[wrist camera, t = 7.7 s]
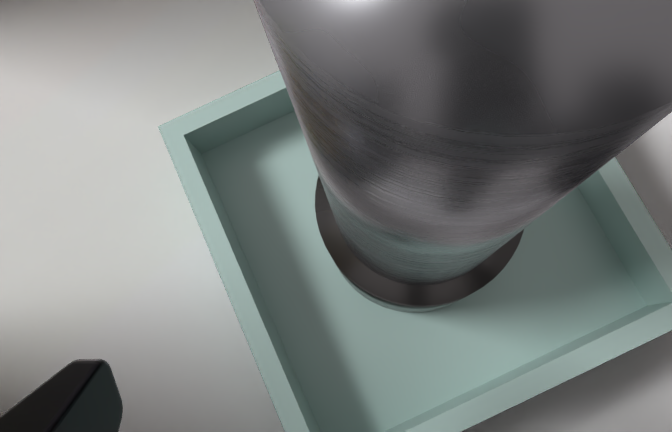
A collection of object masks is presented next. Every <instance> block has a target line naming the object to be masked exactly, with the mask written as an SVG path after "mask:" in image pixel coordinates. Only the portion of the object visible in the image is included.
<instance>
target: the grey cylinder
mask: <svg viewBox="0 0 672 432" xmlns="http://www.w3.org/2000/svg"><path fill="white" fill-rule="evenodd" d="M254 2H255V5H256V8H257V10H258V13H259V16H260V18H261V21H262V24H263V27H264V29H265V32H266V35H267V37H268V40H269V43H270V45H271V48H272V51H273V53H274V56H275V59H276V61H277V64H278V67H279V70H280V72H281V75H282V78H283V80H284V83H285V86H286V88H287V91H288V94H289V96H290V99H291V102H292V105H293V107H294V110H295V113H296V115H297V118H298V121H299V123H300V126H301V129H302V131H303V134H304V137H305V139H306V142H307V145H308V148H309V150H310V153H311V156H312V158H313V161H314V164H315V166H316V169H317V172H318V174H319V176H318V179H317V185H316V191H315V211H316V220H317V224H318V228H319V232H320V235H321V237H322V240H323V242H324V245H325V247H326V248H327V250H328V252H329V254H330V255H331V257H332V259H333V261H334V262H335V264H336V266H337V267H338V269H339V271H340V273H341V274H342V276H343V277H344V278H345V279H346V281H347V282H348V283H349V284H350V285H351V286H352V287H353V288H354V289H355V290H356V291H357V292H358V293H359V294H361V295H362V296H363V297H365V298H366V299H368V300H370V301H371V302H373V303H375V304H377V305H380V306H382V307H384V308H387V309H391V310H395V311H400V312H407V313H421V312H429V311H434V310H438V309H441V308H444V307H446V306H449V305H451V304H454V303H455V302H457V301H459V300H461V299H463V298H465V297H467V296H468V295H470V294H472V293H474V292H476V291H477V290H479V289H481V288H482V287H484V286H485V285H486V284H488V283H489V282H490V281H492V280H493V279H494V278H495V277H496V276H497V275H498V274H499V273H500V272H501V271H502V270H503V269H504V267H505V266H506V265H507V263H508V262H509V261H510V259H511V258H512V256H513V254H514V253H515V251H516V249H517V247H518V245H519V243H520V240H521V237H522V235H523V232H524V228H526V227H527V226H528V225H529V224H531V223H532V222H533V221H534V220H536V219H537V218H538V217H540V216H541V215H542V214H543V213H545V212H546V211H547V210H548V209H550V208H551V207H552V206H553V205H555V204H556V203H557V202H558V201H560V200H561V199H562V198H563V197H565V196H566V195H567V194H569V193H570V192H571V191H572V190H574V189H575V188H576V187H577V186H579V185H580V184H581V183H582V182H584V181H585V180H586V179H587V178H589V177H590V176H591V175H592V174H594V173H595V172H596V171H597V170H599V169H600V168H601V167H603V166H604V165H605V164H606V163H608V162H609V161H610V160H611V159H613V158H614V157H615V156H616V155H618V154H619V153H620V152H621V151H623V150H624V149H625V148H626V147H628V146H629V145H630V144H632V143H633V142H634V141H635V140H637V139H638V138H639V137H640V136H642V135H643V134H644V133H645V132H647V131H648V130H649V129H650V128H652V127H653V126H654V125H655V124H657V123H658V122H659V121H660V120H662V119H663V118H664V117H666V116H667V115H668V114H669V113H671V112H672V0H254Z"/></svg>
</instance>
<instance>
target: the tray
mask: <svg viewBox="0 0 672 432" xmlns="http://www.w3.org/2000/svg"><path fill="white" fill-rule="evenodd" d="M158 128H159V130H160V133H161V135H162V137H163V140H164V142H165V145H166V147H167V149H168V152H169V154H170V157H171V159H172V161H173V164H174V166H175V169H176V171H177V173H178V176H179V178H180V181H181V183H182V186H183V188H184V190H185V193H186V195H187V198H188V200H189V202H190V205H191V207H192V210H193V212H194V214H195V217H196V219H197V222H198V224H199V226H200V229H201V231H202V234H203V236H204V238H205V241H206V243H207V246H208V248H209V251H210V253H211V255H212V258H213V260H214V263H215V265H216V267H217V270H218V272H219V275H220V277H221V279H222V282H223V284H224V287H225V289H226V291H227V294H228V296H229V299H230V301H231V304H232V306H233V308H234V311H235V313H236V316H237V318H238V320H239V323H240V325H241V328H242V330H243V332H244V335H245V337H246V340H247V342H248V344H249V347H250V349H251V352H252V354H253V356H254V359H255V361H256V364H257V366H258V369H259V371H260V373H261V376H262V378H263V381H264V383H265V385H266V388H267V390H268V393H269V395H270V397H271V400H272V402H273V405H274V407H275V409H276V412H277V414H278V417H279V419H280V421H281V424H282V426H283V429H284V431H285V432H461V431H463V430H465V429H468V428H470V427H472V426H474V425H476V424H478V423H480V422H482V421H484V420H486V419H488V418H490V417H493V416H495V415H497V414H499V413H501V412H503V411H505V410H507V409H509V408H511V407H513V406H515V405H517V404H520V403H522V402H524V401H526V400H528V399H530V398H532V397H534V396H536V395H538V394H540V393H542V392H545V391H547V390H549V389H551V388H553V387H555V386H557V385H559V384H561V383H563V382H565V381H567V380H569V379H572V378H574V377H576V376H578V375H580V374H582V373H584V372H586V371H588V370H590V369H592V368H594V367H597V366H599V365H601V364H603V363H605V362H607V361H609V360H611V359H613V358H615V357H617V356H619V355H621V354H624V353H626V352H628V351H630V350H632V349H634V348H636V347H638V346H640V345H642V344H644V343H646V342H649V341H651V340H653V339H655V338H657V337H659V336H661V335H663V334H665V333H667V332H669V331H671V330H672V249H671V248H670V246H669V245H668V243H667V241H666V240H665V238H664V236H663V235H662V233H661V231H660V230H659V228H658V227H657V225H656V223H655V222H654V220H653V218H652V217H651V215H650V213H649V212H648V210H647V209H646V207H645V205H644V204H643V202H642V200H641V199H640V197H639V195H638V194H637V192H636V191H635V189H634V187H633V186H632V184H631V182H630V181H629V179H628V177H627V176H626V174H625V173H624V171H623V169H622V168H621V166H620V164H619V163H618V161H617V159H616V158H615V157H614V158H613V159H611V160H610V161H609V162H608V163H606V164H605V165H604V166H603V167H601V168H600V169H599V170H597V171H596V172H595V173H594V174H592V175H591V176H590V177H589V178H587V179H586V180H585V181H584V182H582V183H581V184H580V185H579V186H577V187H576V188H575V189H574V190H572V191H571V192H570V193H569V194H567V195H566V196H565V197H563V198H562V199H561V200H560V201H558V202H557V203H556V204H555V205H553V206H552V207H551V208H550V209H548V210H547V211H546V212H545V213H543V214H542V215H541V216H540V217H538V218H537V219H536V220H534V221H533V222H532V223H531V224H529V225H528V226H527V227H526V228H524V232H523V235H522V237H521V240H520V243H519V245H518V247H517V249H516V251H515V253H514V254H513V256H512V258H511V259H510V261H509V262H508V263H507V265H506V266H505V267H504V269H503V270H502V271H501V272H500V273H499V274H498V275H497V276H496V277H495V278H494V279H493V280H492V281H490V282H489V283H488V284H486V285H485V286H484V287H482V288H481V289H479V290H477V291H476V292H474V293H472V294H470V295H468V296H467V297H465V298H463V299H461V300H459V301H457V302H455V303H454V304H451V305H449V306H446V307H444V308H441V309H438V310H434V311H429V312H421V313H407V312H400V311H395V310H391V309H387V308H384V307H382V306H380V305H377V304H375V303H373V302H371V301H370V300H368V299H366V298H365V297H363V296H362V295H361V294H359V293H358V292H357V291H356V290H355V289H354V288H353V287H352V286H351V285H350V284H349V283H348V282H347V281H346V279H345V278H344V277H343V276H342V274H341V273H340V271H339V269H338V267H337V266H336V264H335V262H334V261H333V259H332V257H331V255H330V254H329V252H328V250H327V248H326V247H325V245H324V242H323V240H322V237H321V235H320V232H319V228H318V224H317V220H316V211H315V191H316V185H317V179H318V176H319V174H318V172H317V169H316V166H315V164H314V161H313V158H312V156H311V153H310V150H309V148H308V145H307V142H306V139H305V137H304V134H303V131H302V129H301V126H300V123H299V121H298V118H297V115H296V113H295V110H294V107H293V105H292V102H291V99H290V96H289V94H288V91H287V88H286V86H285V83H284V80H283V78H282V75H281V72H280V70H279V71H277V72H275V73H273V74H271V75H268V76H266V77H264V78H262V79H260V80H258V81H255V82H253V83H251V84H249V85H247V86H245V87H242V88H240V89H238V90H236V91H234V92H232V93H229V94H227V95H225V96H223V97H221V98H219V99H216V100H214V101H212V102H210V103H208V104H206V105H203V106H201V107H199V108H197V109H195V110H193V111H190V112H188V113H186V114H184V115H182V116H180V117H178V118H175V119H173V120H171V121H169V122H167V123H165V124H162V125H160V126H158Z"/></svg>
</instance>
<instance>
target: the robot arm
mask: <svg viewBox="0 0 672 432" xmlns="http://www.w3.org/2000/svg"><path fill="white" fill-rule="evenodd" d="M122 409H123V407H122V400H121V397H120V394H119V391H118V388H117V385H116V382H115V379H114V376H113V373H112V371H111V368H110V366H109V364H108V363H107V362H106V361H105V360H102V359H79V360H75V361H73V362H71V363H70V364H68V365H67V366H66V367H64V368H63V369H62V370H60V371H59V372H58V373H56V374H55V375H54V376H53V377H51V378H50V379H49V380H47V381H46V382H45V383H43V384H42V385H41V386H40V387H38V388H37V389H36V390H34V391H33V392H32V393H31V394H29V395H28V396H27V397H25V398H24V399H23V400H21V401H20V402H19V403H18V404H16V405H15V406H14V407H12V408H11V409H10V410H8V411H7V412H6V413H5V414H3V415H2V416H1V417H0V432H118V430H119V426H120V423H121V418H122Z"/></svg>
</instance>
